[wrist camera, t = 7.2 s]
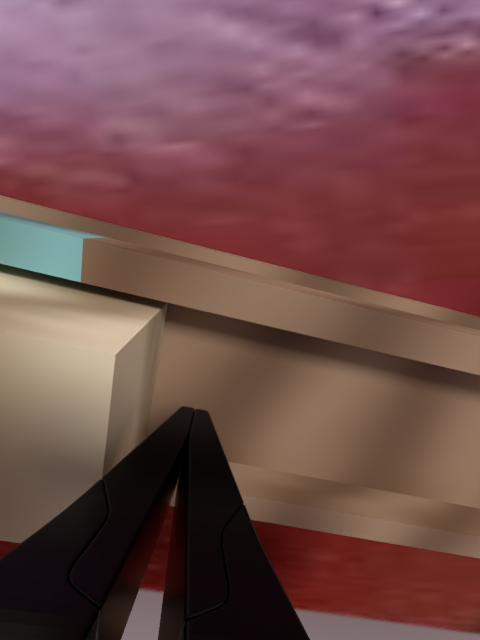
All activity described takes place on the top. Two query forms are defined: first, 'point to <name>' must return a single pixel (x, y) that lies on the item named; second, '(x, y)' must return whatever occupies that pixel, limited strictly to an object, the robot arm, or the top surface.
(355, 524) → the chute
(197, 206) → the top surface
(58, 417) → the block
